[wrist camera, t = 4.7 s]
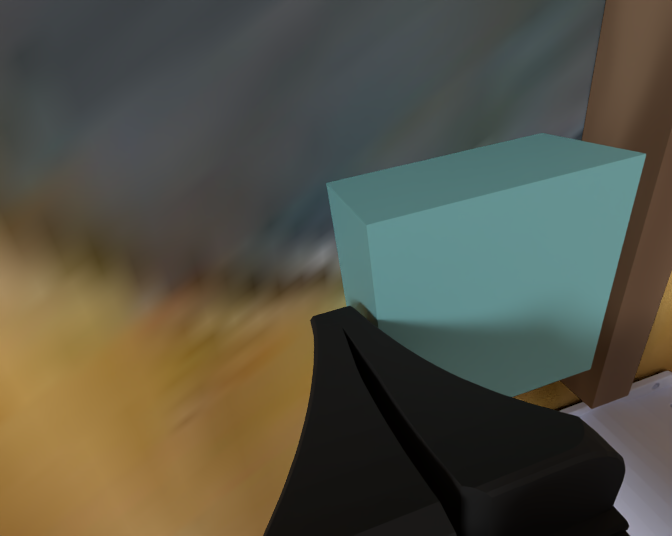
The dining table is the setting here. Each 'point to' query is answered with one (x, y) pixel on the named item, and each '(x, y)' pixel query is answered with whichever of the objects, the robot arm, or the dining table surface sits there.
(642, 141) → the walnut board
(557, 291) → the teal block
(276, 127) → the dining table surface
